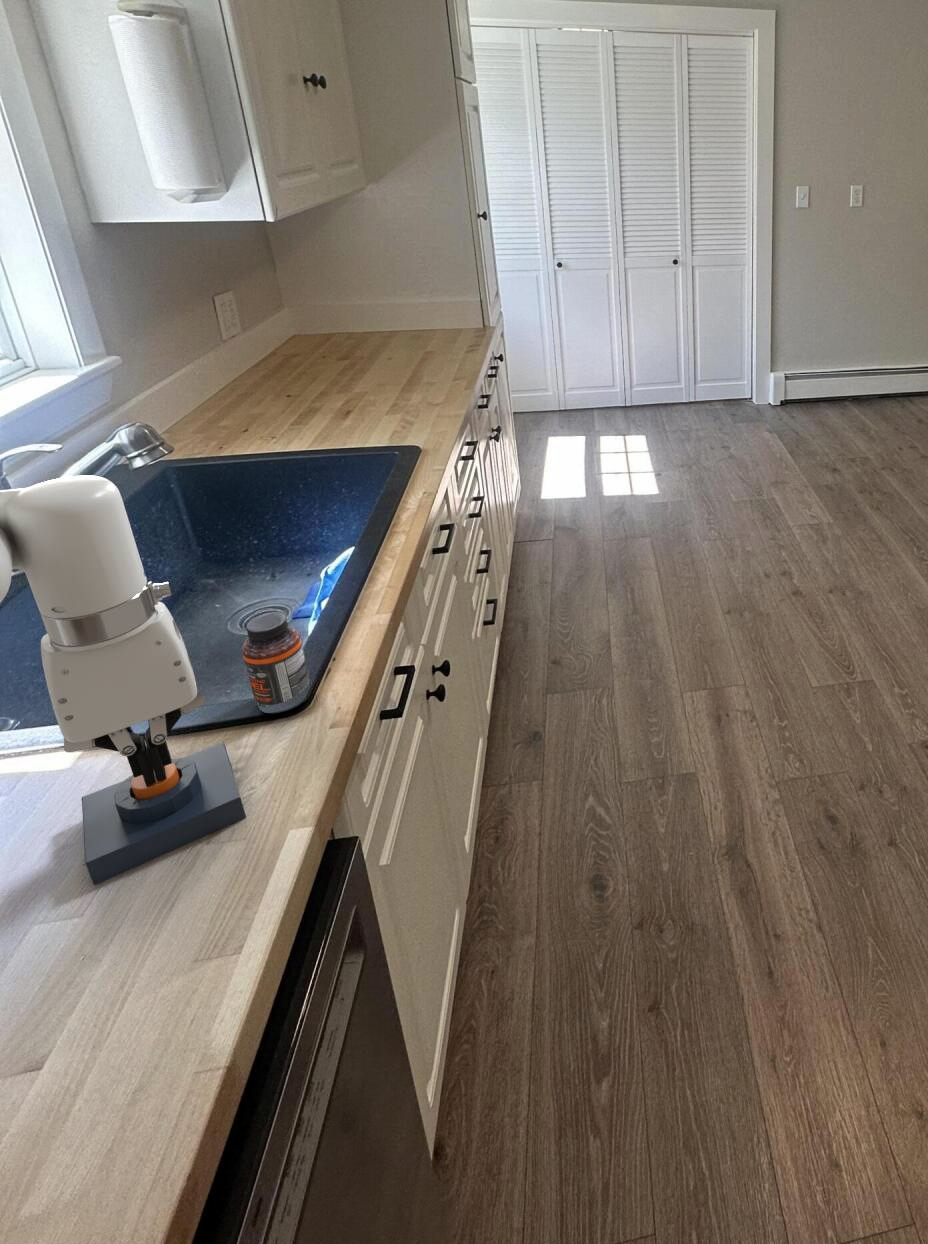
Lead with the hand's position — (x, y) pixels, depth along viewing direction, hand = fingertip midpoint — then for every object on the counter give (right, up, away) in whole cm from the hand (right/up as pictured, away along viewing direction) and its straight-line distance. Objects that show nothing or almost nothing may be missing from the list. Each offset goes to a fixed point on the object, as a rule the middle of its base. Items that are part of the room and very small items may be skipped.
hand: (155, 774), depth 77 cm
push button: (0, -2, +1) cm, 2 cm away
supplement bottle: (+2, +1, +18) cm, 19 cm away
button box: (0, -5, +2) cm, 6 cm away
